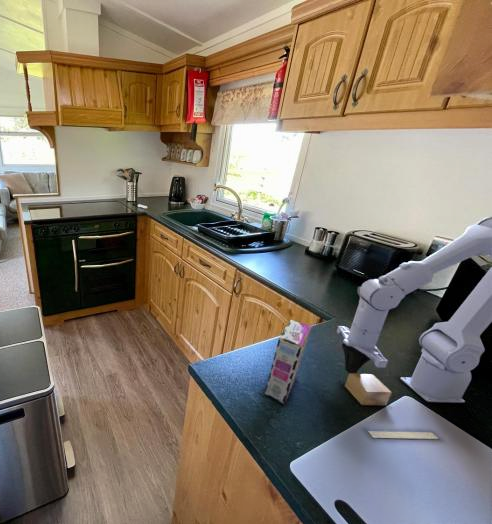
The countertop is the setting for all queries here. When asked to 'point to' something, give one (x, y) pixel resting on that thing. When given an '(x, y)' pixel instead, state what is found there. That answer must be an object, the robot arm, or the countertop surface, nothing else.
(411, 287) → the robot arm
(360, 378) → the maple block
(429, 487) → the countertop surface
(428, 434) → the tape line
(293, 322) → the candy bar box
